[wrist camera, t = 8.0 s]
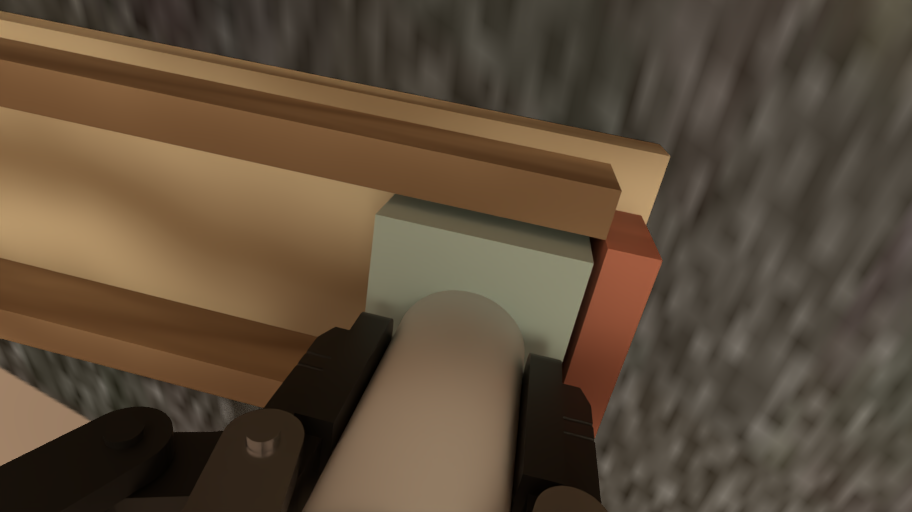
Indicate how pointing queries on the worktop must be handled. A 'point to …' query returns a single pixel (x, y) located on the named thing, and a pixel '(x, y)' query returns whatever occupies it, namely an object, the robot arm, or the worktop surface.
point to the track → (269, 206)
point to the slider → (452, 357)
